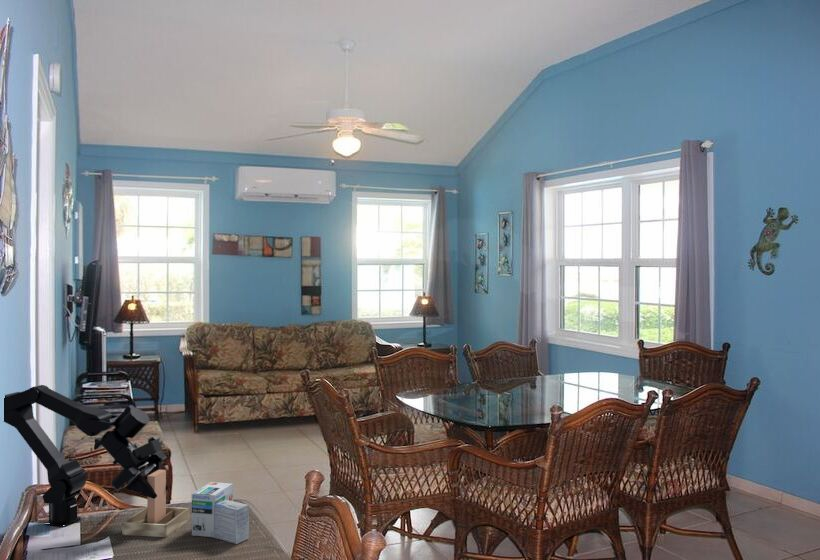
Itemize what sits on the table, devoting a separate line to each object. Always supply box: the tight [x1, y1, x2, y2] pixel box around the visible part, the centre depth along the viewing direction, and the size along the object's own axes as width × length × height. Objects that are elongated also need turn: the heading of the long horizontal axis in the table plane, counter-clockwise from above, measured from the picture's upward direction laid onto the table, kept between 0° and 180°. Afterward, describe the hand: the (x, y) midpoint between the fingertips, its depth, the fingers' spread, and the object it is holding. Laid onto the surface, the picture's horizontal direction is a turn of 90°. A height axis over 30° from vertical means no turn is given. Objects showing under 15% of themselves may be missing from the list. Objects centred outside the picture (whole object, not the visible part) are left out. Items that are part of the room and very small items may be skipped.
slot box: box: [121, 506, 191, 538], centre depth 184 cm, size 12×13×3 cm
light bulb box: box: [191, 481, 234, 538], centre depth 183 cm, size 11×7×11 cm, turn 168°
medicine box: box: [213, 500, 250, 545], centre depth 176 cm, size 8×4×9 cm, turn 58°
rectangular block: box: [146, 469, 167, 523], centre depth 184 cm, size 2×6×12 cm, turn 172°
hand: (161, 493), depth 184 cm, fingers closed on rectangular block, 6 cm apart
